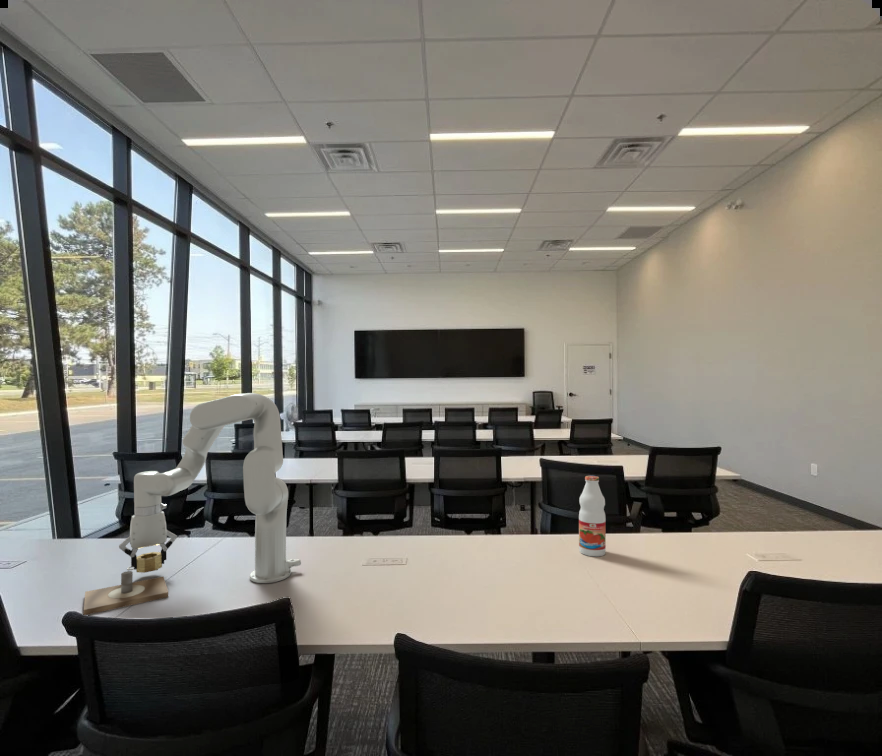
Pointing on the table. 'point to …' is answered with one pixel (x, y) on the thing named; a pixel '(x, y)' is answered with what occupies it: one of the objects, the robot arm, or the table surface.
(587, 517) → the fruit juice
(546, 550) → the table surface
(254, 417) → the robot arm
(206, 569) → the table surface
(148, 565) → the ring
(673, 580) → the table surface
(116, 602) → the post plate
